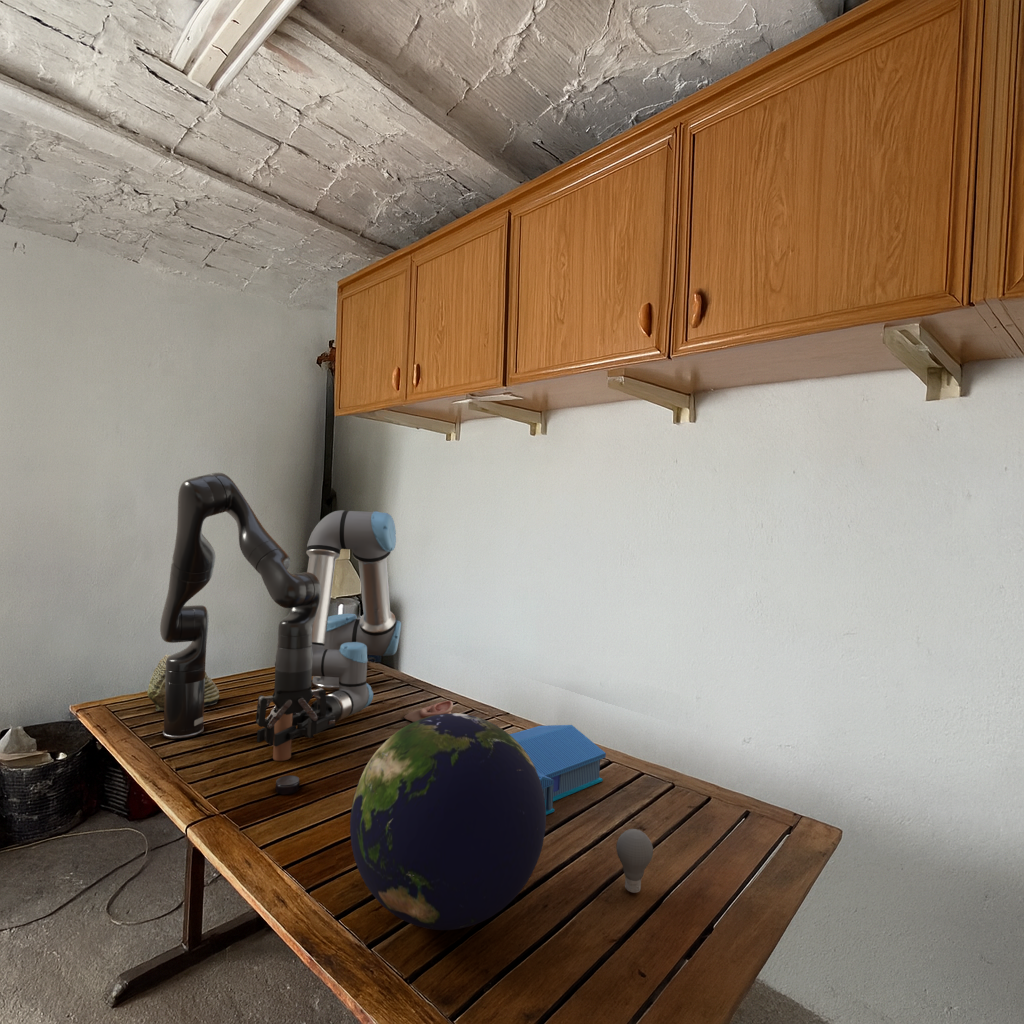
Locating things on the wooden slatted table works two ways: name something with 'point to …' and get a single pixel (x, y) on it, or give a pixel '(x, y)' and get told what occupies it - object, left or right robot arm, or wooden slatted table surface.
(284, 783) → the lid
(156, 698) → the fossil
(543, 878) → the wooden slatted table surface
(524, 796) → the globe
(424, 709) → the anatomical model
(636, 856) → the light bulb
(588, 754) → the model building
